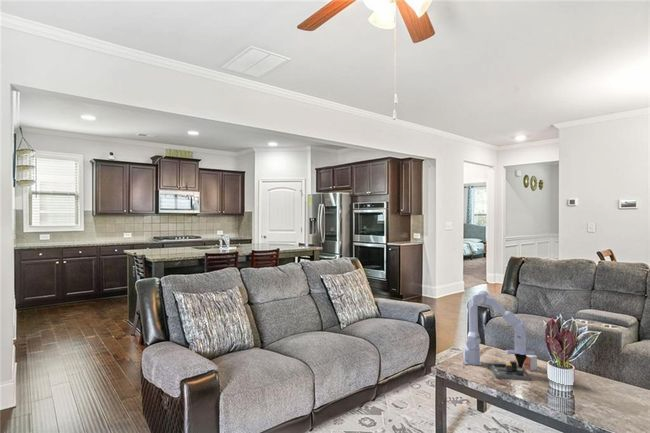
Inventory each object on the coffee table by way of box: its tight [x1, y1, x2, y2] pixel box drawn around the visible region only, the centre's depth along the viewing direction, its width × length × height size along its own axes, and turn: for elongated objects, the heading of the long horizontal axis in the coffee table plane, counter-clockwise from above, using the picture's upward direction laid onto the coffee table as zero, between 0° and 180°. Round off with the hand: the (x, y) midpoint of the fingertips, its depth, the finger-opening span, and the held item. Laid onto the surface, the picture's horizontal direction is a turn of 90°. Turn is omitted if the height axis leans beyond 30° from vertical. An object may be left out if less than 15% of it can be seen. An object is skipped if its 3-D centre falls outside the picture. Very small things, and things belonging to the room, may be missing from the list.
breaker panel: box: [488, 359, 532, 381], centre depth 212 cm, size 18×16×5 cm
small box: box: [515, 354, 538, 371], centre depth 220 cm, size 8×6×10 cm
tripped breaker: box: [504, 362, 512, 371], centre depth 212 cm, size 3×2×4 cm
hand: (520, 367), depth 211 cm, fingers closed
